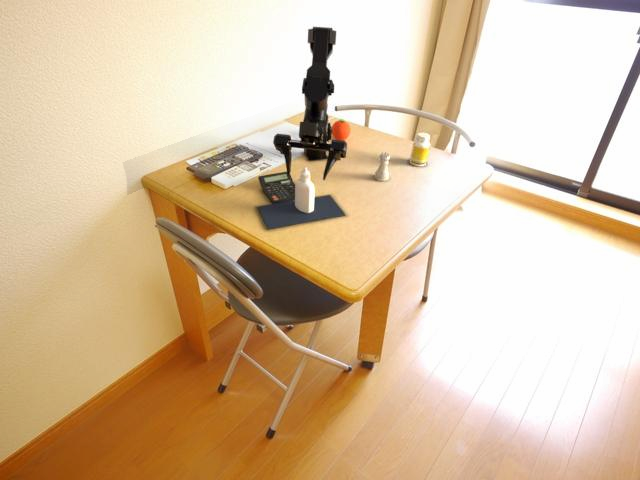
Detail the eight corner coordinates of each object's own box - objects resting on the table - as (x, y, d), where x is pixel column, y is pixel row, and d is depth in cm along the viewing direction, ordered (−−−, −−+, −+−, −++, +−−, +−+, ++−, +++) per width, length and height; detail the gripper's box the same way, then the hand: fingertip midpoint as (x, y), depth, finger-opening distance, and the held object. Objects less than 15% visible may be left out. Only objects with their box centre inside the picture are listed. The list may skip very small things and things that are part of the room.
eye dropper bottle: (309, 202, 111) (311, 162, 103) (314, 213, 106) (316, 172, 99) (293, 203, 109) (294, 163, 102) (298, 215, 105) (299, 173, 98)
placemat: (329, 196, 115) (329, 194, 114) (345, 215, 107) (345, 214, 107) (257, 207, 108) (257, 206, 107) (268, 229, 100) (268, 228, 100)
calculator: (272, 204, 109) (272, 195, 107) (258, 184, 117) (258, 175, 116) (304, 198, 113) (304, 189, 111) (288, 179, 121) (288, 170, 119)
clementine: (332, 133, 151) (334, 114, 147) (351, 136, 150) (353, 117, 146) (328, 141, 145) (330, 122, 140) (348, 144, 144) (350, 125, 140)
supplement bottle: (428, 166, 133) (434, 138, 127) (412, 166, 132) (418, 138, 126) (422, 159, 137) (428, 131, 131) (407, 159, 136) (412, 131, 130)
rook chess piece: (390, 177, 126) (394, 153, 121) (386, 183, 122) (390, 158, 118) (376, 173, 127) (380, 149, 122) (372, 179, 124) (375, 155, 119)
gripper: (274, 102, 99) (264, 163, 97) (350, 109, 97) (341, 172, 95) (281, 121, 110) (272, 177, 108) (349, 129, 108) (342, 185, 106)
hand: (306, 177), depth 104 cm, fingers open, 9 cm apart
